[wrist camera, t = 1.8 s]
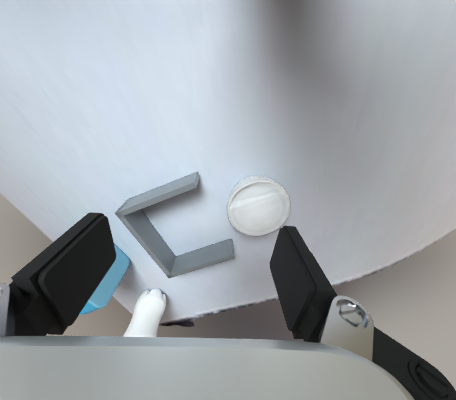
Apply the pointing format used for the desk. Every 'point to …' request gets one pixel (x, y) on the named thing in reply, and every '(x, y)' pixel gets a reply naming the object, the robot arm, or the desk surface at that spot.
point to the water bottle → (147, 314)
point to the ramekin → (258, 206)
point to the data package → (108, 283)
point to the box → (155, 243)
